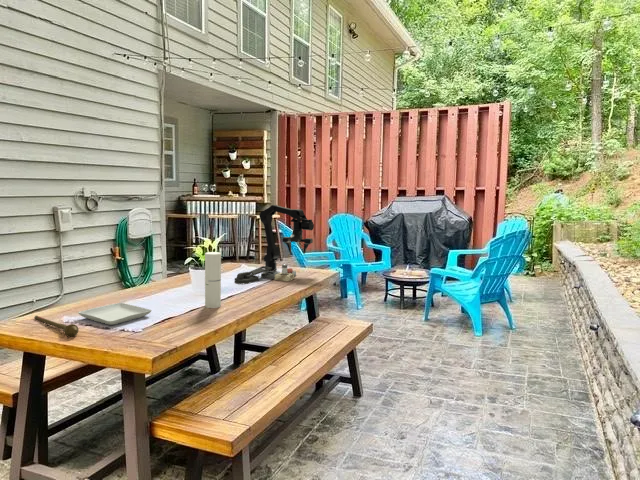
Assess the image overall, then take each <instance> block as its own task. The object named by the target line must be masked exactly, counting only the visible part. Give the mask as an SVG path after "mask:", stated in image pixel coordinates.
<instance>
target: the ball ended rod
mask: <svg viewBox="0 0 640 480" xmlns="http://www.w3.org/2000/svg"><path fill="white" fill-rule="evenodd" d="M33 318H34V320H36V321H38V322H42V323H45V324H47V325H49V326H53V327H55V328H57V329H61V330H62V331H63V332H64V334H65V335H66V337H68V338H72V337H75V336H77V335H78V333H79V326H78V325H76V324H73V323H71V324H68V325H67V324H63V323H59V322H55V321H52V320H49V319H47V318H46V317H41V316H38V315H34V317H33Z"/></svg>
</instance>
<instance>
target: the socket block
mask: <svg viewBox="0 0 640 480" xmlns="http://www.w3.org/2000/svg"><path fill="white" fill-rule="evenodd" d="M278 273H281V272H280V271H269V270H268V271H265V272H262V273H260V278H261V279H271V280H275V275H276V274H278ZM287 273H289V272H287ZM291 274H294V277H295V276H297V271H292V273H291Z"/></svg>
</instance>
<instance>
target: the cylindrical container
mask: <svg viewBox="0 0 640 480" xmlns="http://www.w3.org/2000/svg"><path fill="white" fill-rule="evenodd" d="M204 275H205V276H204V307H205V308H208V309H217V308H220V307H222V306H221V302H222V301H221V300H222V299H221V298H222V297H221V295H222V293H221V292H222V282H221V281H222V279H221V278H222V253H221V252H219V251H218V252H217V251H207V252H205V253H204Z"/></svg>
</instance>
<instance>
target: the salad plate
mask: <svg viewBox="0 0 640 480" xmlns="http://www.w3.org/2000/svg"><path fill="white" fill-rule="evenodd" d="M151 313H152V309H150V308H145V307H141V306H137V305H133V304H128V303H125V302H117V303H112V304H107V305H103V306H98V307H97V306H96V307H92V308H89V309H85V310H81V311H78V312H77V314H78V315H80V316H81V317H83V318H85V319H87V320H91V321H93V320H94V321H93V322H97V323H100V322H101V324H104V323H105V325H109V326H111V325H112V326H113V325H118V323H119V324H122V323H125V321H126V322H129V320H130V321H133V320H137V319H139V318H143V317H146V316H147V315H149V314H151ZM136 318H137V319H136ZM132 319H133V320H132Z"/></svg>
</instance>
